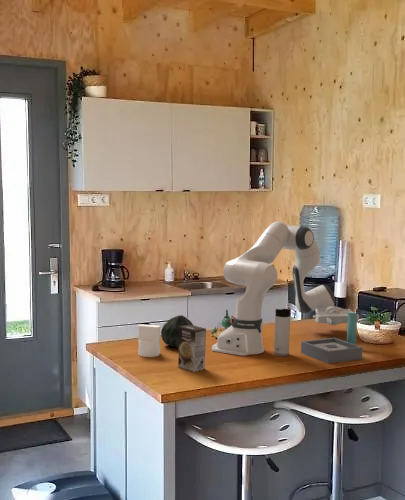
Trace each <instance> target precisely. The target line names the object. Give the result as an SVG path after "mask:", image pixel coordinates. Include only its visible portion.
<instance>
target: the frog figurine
mask: <svg viewBox="0 0 405 500" xmlns="http://www.w3.org/2000/svg"><path fill="white" fill-rule="evenodd" d="M233 317H234V316H233V315H231V316H229V310H228V309H225V315H224V317H223V319H222V320H221V322H218V324H217V326H221V325H222V326H221V327H223V328H224V330H226V329H227V328H229V327H230V326H231V323H230V322H231V319H232V318H233ZM219 324H220V325H219ZM221 327H217V328H216V326H214V328H213V329H212V331H211V332H210V337H215V338H217V339H218V337H219V335H220V334H221V333H222V332H223V331H222V329H221ZM218 329H219V330H220V331H218Z"/></svg>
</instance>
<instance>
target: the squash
mask: <svg viewBox="0 0 405 500" xmlns="http://www.w3.org/2000/svg"><path fill="white" fill-rule="evenodd" d="M184 325H194V323H193V322H192V321H191V320H190V319H189V318H187V317H186V316H184V315H182V314H181V315H175V316H174V317H171V318H170V319H168V320H167V321H166V323H165V322H164V324H163V326H162V327H161V329H160V338H161V340H162V342H163V343H164V344H165V345H167V346H172V347H175V348H177V349H179V326H184Z"/></svg>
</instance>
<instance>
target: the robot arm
mask: <svg viewBox="0 0 405 500" xmlns="http://www.w3.org/2000/svg"><path fill="white" fill-rule="evenodd" d="M283 249H284V250H289V251H291V250H293V251H294V254H295V264H294V265H293V266H292V280H293V288H294V300H295V302H294V303H295V307H296V309H297V310H298V312H299V313H301V314H305V315H308V314H310V313H311V312H313V311H315V314H314V315H312V318H313V319H315V322H316V323H317V324H328V325H330V326H335V325H340V324H347V322H348V313H350V312H352V313H356V312H354V311H352V310H351V309H349V308H344V307H343V308H342V307H338V306H335V304H336V297H335V295H334V292H333V291H332V289H331V288H330V287H328V286H327V285H326V284H321V285H318V286H316V287H314V288H312V289H310V290H308V291H307V290H306V292H305V286H304V280H305V278H306V277H307V275H308V274H309V273H311V271H313V270H314V269H316V267H317V266H318V264H319V263H320V260H321V255H320V251H319V247H318V243H317V242H316V240H315V236H314V233H313V231H312V229H311V228H310V227H308V226H302V225H301V226H299V225H291V224H289V225H288V224H285V223H284V222H282V221H279V220H278V221H274V222H272V223H270V224H269V225H268V226H267V227H266V228H265V230H263V231H262V233H261V235H260V236H259V237H258V239H257V240H256V241H255V242H254V244H253V245H252V246H251V247H250V248H249V249H248V250H247V251H245V252H244V253H242V254H241V255H239V256H238V257H235V258H233V259H230V260H227V262H226V263H225V264H224V266H223V271H222V273H223V278H224V279H225V280H226V282H229V283H232V284H234V285H238V286H245V287H246V289H245V292H244V294H241V295H240V296H238V297H237V299H236V301H235V315H234V316H233V317H231V318H232V319H231V318H230V319H231V322H230V323H231V326H230V327H229V328H227V329H224V330H223V331H221V332H222V333H221V334H220V335H219V337H218V338H217V342H216V343H214V344H213V345H211V351H212V352H216V353H224V354H228V355H229V354H231V355H235V356H244V357H245V356H249V355H251V356H252V355H260V354H262V353H264V352H265V348H264V344H263V336H262V335H263V334H262V332H263V318H262V314H263V313H262V311H263V301H264V297H265V295H266V293H267V292H268V291H269V290H270V288H272V287H274V285H275V284H276V283H277V279H278V271H277V269H276V267H275V266H274V265H272V263H274V261H275V260H276V258H277V257H278V256H279V254H280V252H281V251H282V250H283ZM358 320H359V321H360V315H359V314H358V313H357V321H358Z"/></svg>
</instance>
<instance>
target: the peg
mask: <svg viewBox="0 0 405 500" xmlns="http://www.w3.org/2000/svg"><path fill="white" fill-rule="evenodd" d="M352 312H353V311H352ZM352 312H350V313H348V322H347V323H346V324H347V326H346V327H347V328H346V342H349V343H352V344H355V345H357V331H358V329H357V326H358V325H357V324H358V323H357V314H358V313H357V312H355V313H352Z"/></svg>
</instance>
